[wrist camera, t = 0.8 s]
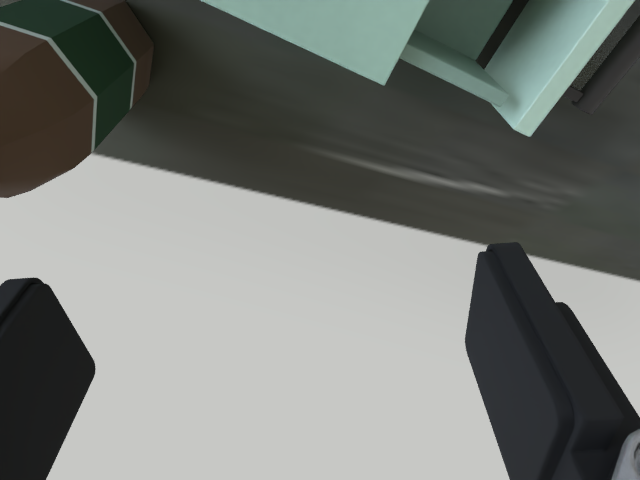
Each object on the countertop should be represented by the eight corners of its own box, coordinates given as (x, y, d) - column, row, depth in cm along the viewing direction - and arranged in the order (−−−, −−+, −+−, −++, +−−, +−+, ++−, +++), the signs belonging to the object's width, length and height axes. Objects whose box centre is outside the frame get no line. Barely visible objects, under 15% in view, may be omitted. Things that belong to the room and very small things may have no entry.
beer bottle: (18, -15, 29) (-596, 157, 9) (140, -24, 28) (-229, 134, 9) (66, 106, 33) (-276, 388, 14) (171, 99, 33) (-28, 376, 14)
